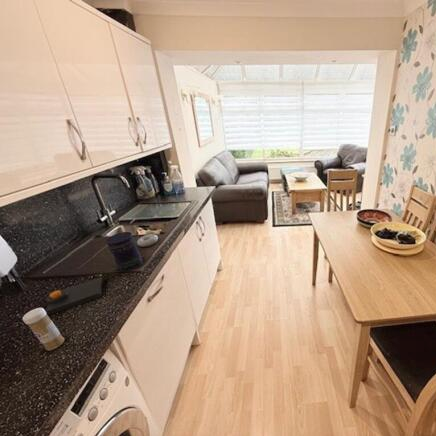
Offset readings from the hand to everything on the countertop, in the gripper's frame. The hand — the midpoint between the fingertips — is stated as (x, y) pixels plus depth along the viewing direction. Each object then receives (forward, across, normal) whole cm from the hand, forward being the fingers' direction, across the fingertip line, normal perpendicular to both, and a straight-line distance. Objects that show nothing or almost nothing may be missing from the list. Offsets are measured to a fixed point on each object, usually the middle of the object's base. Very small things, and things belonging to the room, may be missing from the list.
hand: (17, 291), depth 66 cm
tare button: (+18, -24, -3) cm, 30 cm away
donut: (+21, -53, +28) cm, 64 cm away
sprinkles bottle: (+21, 0, 0) cm, 21 cm away
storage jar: (+21, -36, +20) cm, 46 cm away
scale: (+21, -24, +2) cm, 32 cm away
